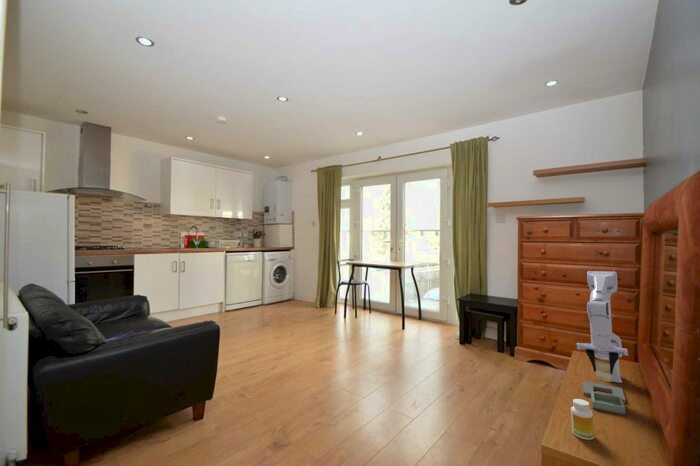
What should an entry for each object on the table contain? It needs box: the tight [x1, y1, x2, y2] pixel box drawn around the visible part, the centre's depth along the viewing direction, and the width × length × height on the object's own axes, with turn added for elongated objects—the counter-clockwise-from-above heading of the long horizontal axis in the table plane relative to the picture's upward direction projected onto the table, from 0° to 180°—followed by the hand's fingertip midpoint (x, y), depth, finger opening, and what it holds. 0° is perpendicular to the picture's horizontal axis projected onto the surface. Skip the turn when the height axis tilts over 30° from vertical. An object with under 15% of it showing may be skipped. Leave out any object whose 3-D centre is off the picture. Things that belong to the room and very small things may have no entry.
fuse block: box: [595, 356, 612, 383], centre depth 116 cm, size 4×4×7 cm
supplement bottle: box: [570, 398, 595, 441], centre depth 95 cm, size 5×5×10 cm
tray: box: [590, 391, 626, 416], centre depth 110 cm, size 9×9×2 cm
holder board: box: [582, 380, 627, 404], centre depth 119 cm, size 11×12×1 cm
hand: (602, 371), depth 116 cm, fingers closed on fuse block, 4 cm apart
